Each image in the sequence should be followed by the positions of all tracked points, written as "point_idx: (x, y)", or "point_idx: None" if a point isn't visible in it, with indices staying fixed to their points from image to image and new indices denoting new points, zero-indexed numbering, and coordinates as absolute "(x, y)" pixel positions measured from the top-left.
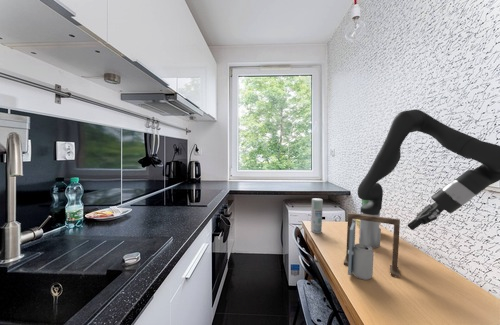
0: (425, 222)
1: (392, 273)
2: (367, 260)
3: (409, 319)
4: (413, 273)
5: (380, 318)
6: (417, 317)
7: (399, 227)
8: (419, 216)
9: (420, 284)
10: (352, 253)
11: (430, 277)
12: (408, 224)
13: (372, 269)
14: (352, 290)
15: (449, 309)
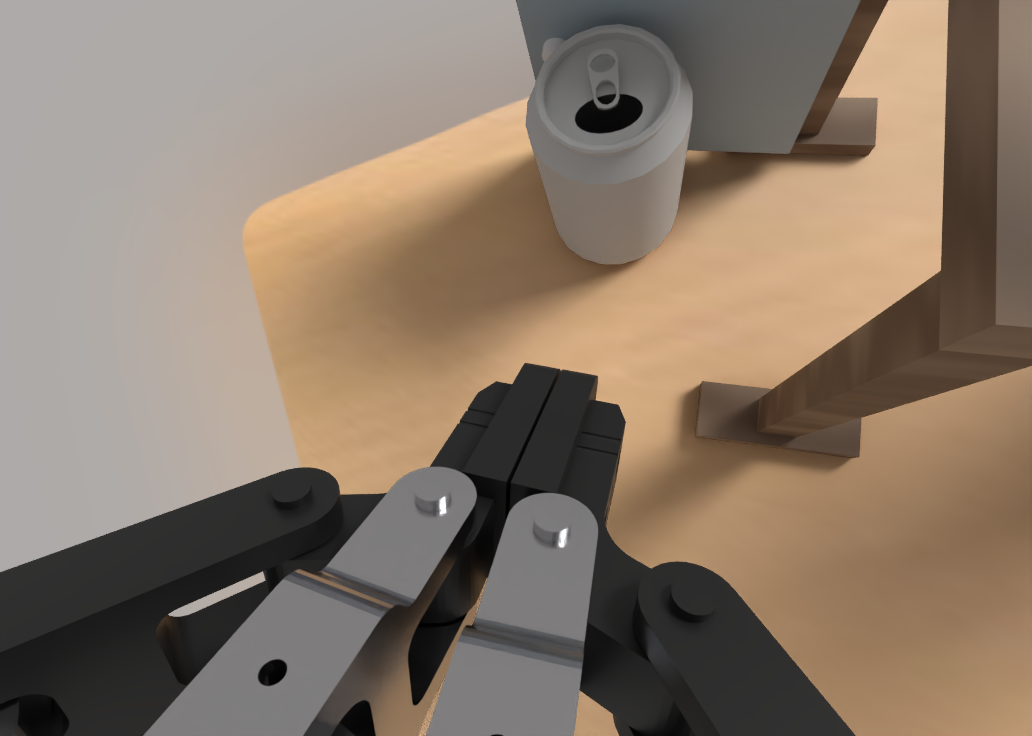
0: (234, 597)
1: (701, 391)
2: (538, 168)
3: (285, 388)
4: (821, 558)
5: (261, 275)
6: (308, 426)
7: (921, 357)
8: (393, 547)
9: (652, 550)
10: (543, 51)
11: (808, 670)
12: (538, 371)
13: (586, 240)
14: (431, 170)
15: None
